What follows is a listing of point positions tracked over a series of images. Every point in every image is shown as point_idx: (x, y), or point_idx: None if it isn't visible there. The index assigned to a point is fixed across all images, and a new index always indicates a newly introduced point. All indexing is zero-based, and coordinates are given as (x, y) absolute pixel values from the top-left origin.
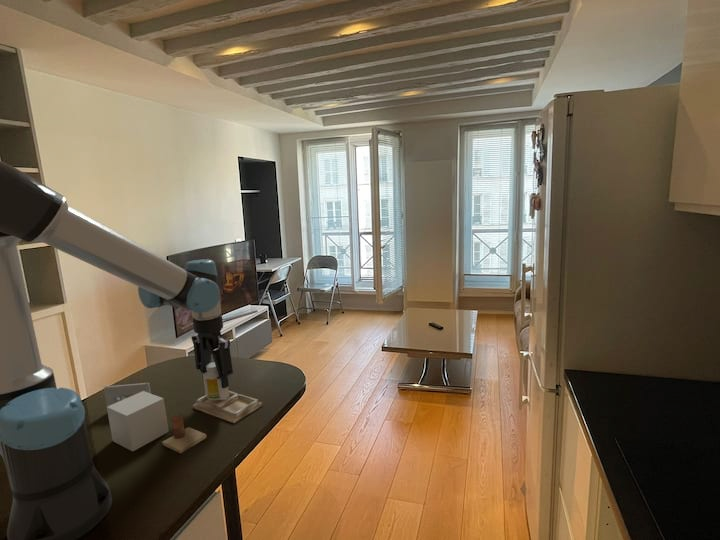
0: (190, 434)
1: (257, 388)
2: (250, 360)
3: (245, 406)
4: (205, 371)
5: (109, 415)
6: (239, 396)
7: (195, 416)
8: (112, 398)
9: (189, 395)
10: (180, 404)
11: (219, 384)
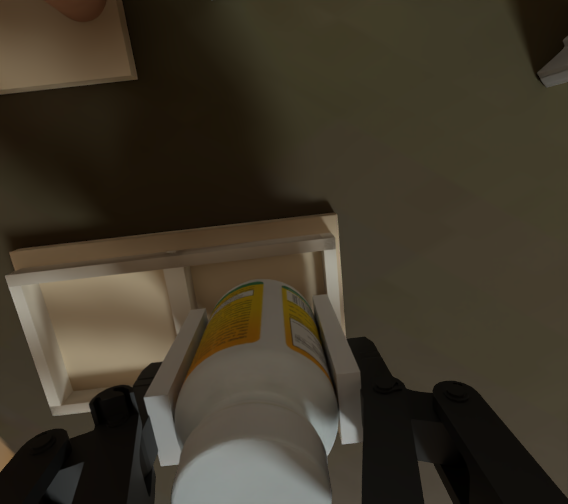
0: (45, 38)
1: None
2: None
3: (39, 346)
4: (362, 402)
5: None
6: None
7: (243, 174)
8: None
9: (474, 270)
10: (431, 194)
11: (162, 364)
